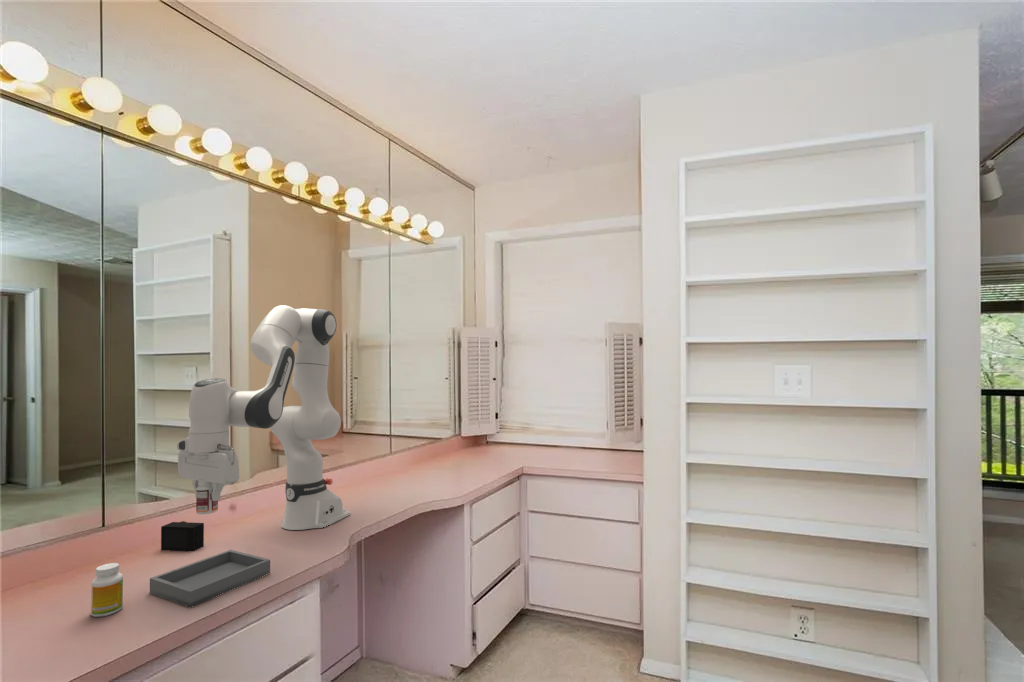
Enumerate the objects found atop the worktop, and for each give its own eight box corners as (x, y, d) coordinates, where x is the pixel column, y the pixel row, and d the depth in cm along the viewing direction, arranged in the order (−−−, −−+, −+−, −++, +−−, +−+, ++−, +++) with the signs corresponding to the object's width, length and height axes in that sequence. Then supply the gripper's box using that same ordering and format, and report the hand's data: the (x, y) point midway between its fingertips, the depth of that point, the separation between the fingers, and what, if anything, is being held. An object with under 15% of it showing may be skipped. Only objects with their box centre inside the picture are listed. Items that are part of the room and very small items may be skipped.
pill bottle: (213, 508, 131) (214, 475, 132) (220, 511, 128) (221, 477, 128) (192, 512, 127) (193, 478, 128) (199, 515, 124) (200, 481, 125)
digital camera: (207, 545, 151) (207, 521, 152) (193, 552, 146) (193, 527, 146) (175, 543, 153) (176, 520, 153) (160, 550, 147) (161, 526, 148)
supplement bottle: (125, 610, 111) (125, 565, 112) (93, 620, 107) (94, 573, 108) (119, 603, 115) (120, 559, 115) (88, 612, 111) (89, 566, 111)
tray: (230, 562, 137) (230, 549, 137) (270, 573, 130) (270, 559, 130) (149, 593, 120) (149, 578, 120) (190, 607, 112) (190, 591, 112)
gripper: (246, 444, 127) (245, 500, 126) (198, 439, 136) (197, 491, 136) (221, 447, 121) (220, 507, 120) (173, 442, 131) (171, 497, 130)
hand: (207, 498), depth 128 cm, fingers closed on pill bottle, 5 cm apart
